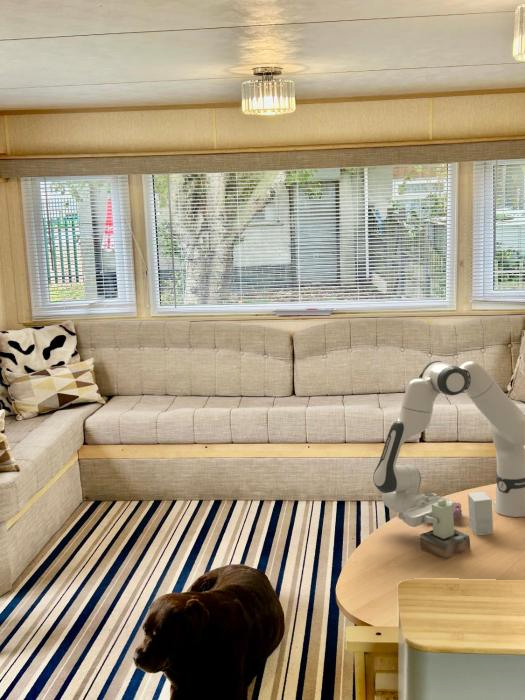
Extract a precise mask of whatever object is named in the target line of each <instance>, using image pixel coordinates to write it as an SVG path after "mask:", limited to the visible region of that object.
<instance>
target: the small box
mask: <svg viewBox="0 0 525 700" xmlns="http://www.w3.org/2000/svg"><path fill="white" fill-rule="evenodd" d="M467 500H468V501H467V503H468V520H469V523H468V524H469V528H470V529H471V530H472V532H473V533H474V534H475V536H483V535H492V534H494V526H493V525H494V524H493V523H494V521H493V504H492V503H493V499H492V498H491V497H490V496H489V495H488V494H487V492H485V491H479V492H469V493H467Z"/></svg>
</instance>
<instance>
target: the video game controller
mask: <svg viewBox="0 0 525 700" xmlns="http://www.w3.org/2000/svg"><path fill="white" fill-rule="evenodd" d="M454 505H455V511H454V512H453V519H454V523H455V522H456V521H457V520H459V519H460V518H461V517H463V512H462V504H461V503H460V502H456V501H454Z"/></svg>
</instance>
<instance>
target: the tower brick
mask: <svg viewBox="0 0 525 700" xmlns="http://www.w3.org/2000/svg"><path fill="white" fill-rule="evenodd" d="M432 517H433V518H434V517H437V518H439V523H438V524H434V523H432V530H433V534H434V535H436V536H438V537H440V538H443V539H445V538H447V537H450V536H452V535H454V529H455V522H454V519H453V505H452V504H450V503H447V502H446V500H445V499H439V500H438V502H437V503H434V504H432Z"/></svg>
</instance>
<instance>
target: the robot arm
mask: <svg viewBox="0 0 525 700" xmlns="http://www.w3.org/2000/svg"><path fill="white" fill-rule="evenodd" d="M405 389H406V390H405V392H404V395H403V400H402V404H401V409H400V412H399V414H398V417H397V418H396V420H395V421H394V422H393V424H391V426H390V428H389V430H388V433H387V436H386V439H385V443H384V446H383V449H382V452H381V455H380V459H379V461H378V463H377V466H376V468H375V469H374V472H373V476H372V479H373V483H374V486H375V487H376V488H377V490H379V491H380V492H381V500H382V503H383V504H384V506H386V507H387V508H388V509H390V510H391V511H394V512H396V513H397V514H398V515H397V518H398V519H399V520H402V522H403V523H405V524H406V525H408V526H410V527H411V528H415V527H416V528H417V527H419V526H422V525H424V524H433V523H434V524H438V523H439V518H437V517H434V518H433V517H432V504H434V503H437V502H438V500H439V499H445V500H446V502H447V503H450V504H452V505H453V512H454V511H455V505H454V503H455V501H453V500H450V499H449V498H446V497H444V496H443V497H442V496H438V495H437V494H436V493H433V492H432V493H426V494H425V493H424V494H423V493H420V494H419V490H420V487H421V484H422V483H421V481H422V478H421V477H422V476H421V473H420V471H419V469H418V468H417V467H416V465H413V464H397V462H398V458H399V455H400V452H401V448H402V446H403V444H404V443H405V442H406V441H407V440H409V439H410V438H412V437H414V436H416V435H419V434H421V433H422V432H424V431H426V429H428V427H429V426H430V423H431V421H432V415H433V411H434V410H433V409H434V403H435V400H436V399H437V397H438V396H439V395H440V393H441V394H443V395H446V396H456V395H459V394H461V393H463V392H464V393H465V394H466V395H467V397H468V398H469V400H471V402H472V403H473V404H474V405H475V407H476V408H477V410H478V412H479V411H480V413H481V414H482V415H483V416H484V417H485V418H486V421H487V425H488V427H489V429H490V433H491V437H492V438H491V439H492V441H493V446H494V450H495V456H496V472H497V473H496V475H495V479H496V487H495V500H493V505H494V511H495V512H496V513H498V514H499V515H501V516H505V517H511V518H512V517H514V518H515V517H517V518H519V517H520V518H521V517H525V413H524V412H523V411H522V410H521V409H520V408H519V407H518V406H517V405H516V404H515V403H514V401H513V400H512V399H510V398H509V396H508V395H507V394H506V393H505V391H504V390H502V388H501V387H500V386H499V384H498V383H497V382H496V381H495V380H494V378H493V377H492V376H491V374H490V373H489V372H488V371H487V370H486V369H485V368H484V367H483V366H481V365H480V364H479V363H478V362H476V361H474V360H470V361H469V360H468V361H465V362H463V363H461V364H460V365H459V366H456V365H454V364H452V363H449V362H444V361H440V360H435V361H431V362H429V363H428V364H426V366H425V367H424V368H423V370H422V372H421V373H420V375H419V376H418V378H414V379H411V380H410V381H409V382H408V384H407V387H406V388H405Z"/></svg>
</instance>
